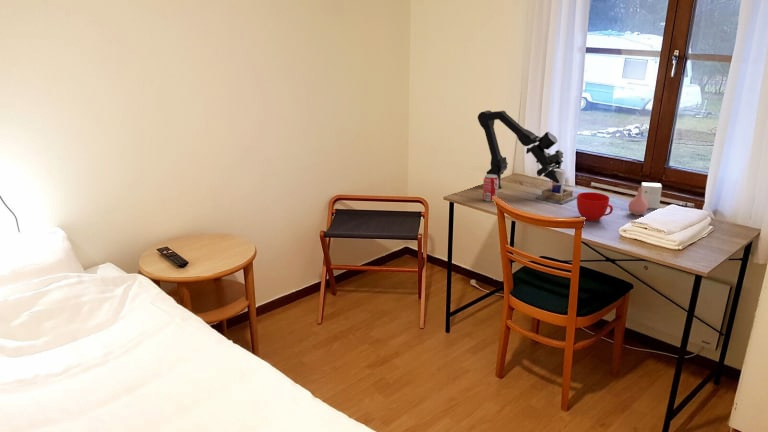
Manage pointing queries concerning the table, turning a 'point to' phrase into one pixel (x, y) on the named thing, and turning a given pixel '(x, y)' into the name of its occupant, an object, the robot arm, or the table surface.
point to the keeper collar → (557, 196)
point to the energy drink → (559, 186)
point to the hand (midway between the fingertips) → (560, 181)
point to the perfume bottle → (638, 204)
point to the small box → (651, 194)
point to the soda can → (490, 186)
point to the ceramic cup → (593, 205)
